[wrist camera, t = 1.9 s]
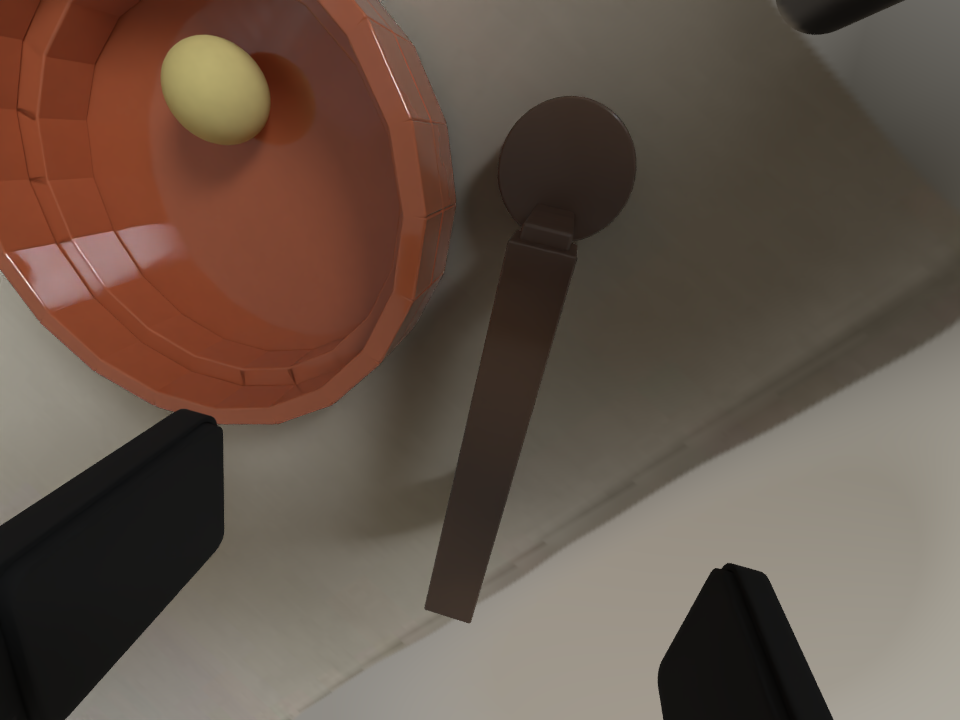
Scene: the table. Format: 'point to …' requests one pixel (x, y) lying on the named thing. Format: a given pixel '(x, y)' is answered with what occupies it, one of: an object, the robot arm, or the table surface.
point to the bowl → (222, 200)
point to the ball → (215, 89)
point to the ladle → (526, 316)
